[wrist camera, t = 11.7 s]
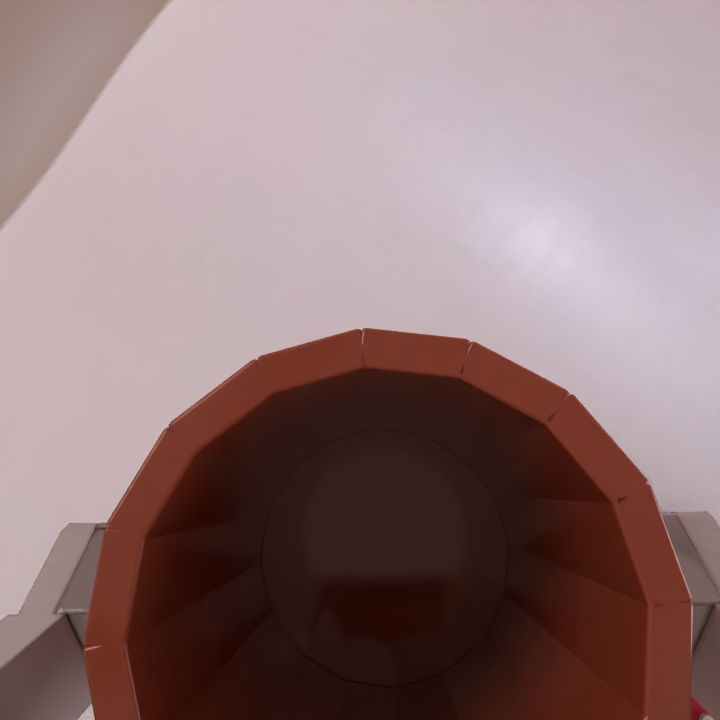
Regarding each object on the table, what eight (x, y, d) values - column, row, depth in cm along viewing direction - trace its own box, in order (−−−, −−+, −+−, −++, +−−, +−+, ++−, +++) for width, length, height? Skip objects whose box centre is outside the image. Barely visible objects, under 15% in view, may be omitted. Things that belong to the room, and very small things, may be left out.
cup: (404, 360, 16) (427, 223, 8) (582, 576, 15) (829, 684, 7) (192, 526, 16) (-26, 570, 7) (360, 764, 14) (329, 1140, 6)
